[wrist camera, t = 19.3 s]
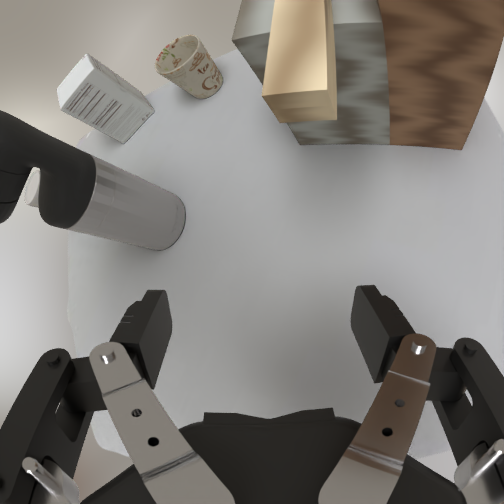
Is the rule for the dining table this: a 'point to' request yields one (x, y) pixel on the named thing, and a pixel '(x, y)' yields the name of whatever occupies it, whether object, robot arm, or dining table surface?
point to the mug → (189, 67)
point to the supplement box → (103, 99)
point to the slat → (301, 62)
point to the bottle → (33, 189)
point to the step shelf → (395, 68)
